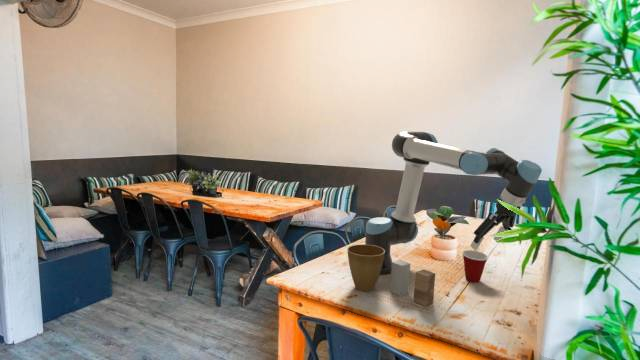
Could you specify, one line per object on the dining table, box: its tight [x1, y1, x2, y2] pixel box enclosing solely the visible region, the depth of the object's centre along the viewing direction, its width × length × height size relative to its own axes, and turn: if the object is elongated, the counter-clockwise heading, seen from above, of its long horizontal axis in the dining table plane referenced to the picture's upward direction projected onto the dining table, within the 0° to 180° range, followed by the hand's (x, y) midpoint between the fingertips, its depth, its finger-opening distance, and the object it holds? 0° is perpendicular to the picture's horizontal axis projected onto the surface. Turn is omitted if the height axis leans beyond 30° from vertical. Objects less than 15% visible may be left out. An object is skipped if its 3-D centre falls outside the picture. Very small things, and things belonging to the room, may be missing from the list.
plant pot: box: [347, 243, 385, 292], centre depth 146 cm, size 15×15×16 cm
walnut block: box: [412, 269, 436, 309], centre depth 134 cm, size 5×5×12 cm
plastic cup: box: [461, 249, 490, 284], centre depth 159 cm, size 11×11×12 cm
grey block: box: [389, 259, 411, 297], centre depth 144 cm, size 5×5×12 cm
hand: (485, 244), depth 141 cm, fingers open, 13 cm apart
